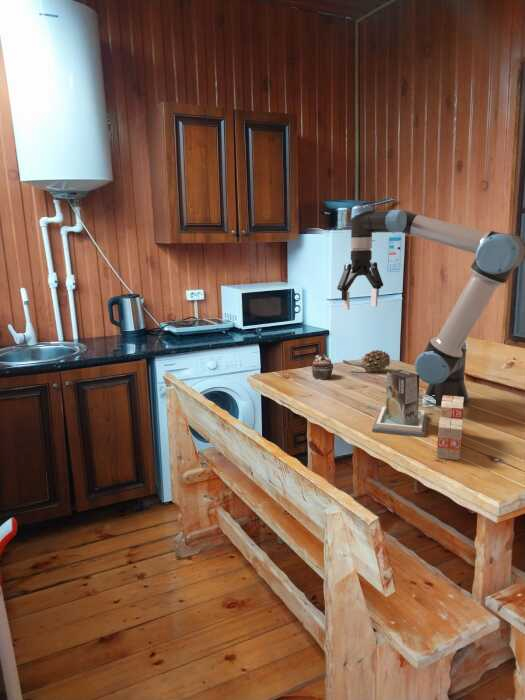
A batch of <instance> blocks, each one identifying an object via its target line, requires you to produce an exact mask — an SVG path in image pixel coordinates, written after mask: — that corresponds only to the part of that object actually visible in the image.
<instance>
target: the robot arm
mask: <svg viewBox="0 0 525 700" xmlns="http://www.w3.org/2000/svg"><path fill="white" fill-rule="evenodd" d="M350 216H351V217H350V230H351V231H350V235H351V236H350V249H351V250H350V260H351V263H345V264H344V265H343V272H342V275H341V277H340V279H339V281H338V285H337V287H336V290H337V291H340V292H341V300H342V310H350V291H349V290H350V288H351V286H352V285H353V283H354V282H355V280H356V279H357V278H358V277H360V276H365V278H366V279H367V281H368V282H369V283H370V285H371V286H372V288H371V289H370V306H371V307H378V298H379V294H380V289H381V288H382V287H383V286H384V283H383V280H382V277H381V274H380V271H379V267H378V262H377V261H373V262H372V257H373V255H372V254H373V253H372V250H371V249H372V248H373V233H374V234H376V233H393V234H394V233H402V234H406V235H409V236H414V237H417V238H421V239H424V240H427V241H430V242H434V243H437V244H441V245H444V246H448V247H450V248H454V249H458V250H462V251H465V252H468V253H471V254H474V255H475V259H474V260H473V262H472V264H471V266H470V271H471V276H470V278H469V279H468V281H467V283H466V285H465V286H464V288H463V290H462V292H461V294H460V296H459V298H458V299H457V301H456V303H455V304H454V306H453V308H452V310H451V311H450V314H449V315H448V317H447V319H446V321H445V322H444V324H443V326H442V328H441V330H440V331H439V333H438V335H437V336H436V337H432V338H430V340H429V341H428V344H427V345H426V347H425V349H424V350H423V352H421V353H420V354H419V355H418V356H417V357H416V359H415V362H414V370H415V374H417V375H420V376H419V380H421V381H422V382H424V383H426V384H428V386H427V388H426V391H425V395H426V394H427V395H429V396H432V395H435V396H432V397H433V398H434V399H435V400H436V404H435V405H438V406H441V402H442V397H443V395H445V396H458V397H464V405H466V404H468V403H469V394H468V390H467V387H466V383H465V376H466V375H465V373H466V362H467V361H466V359H467V350H468V349H467V343H466V341H467V339H468V337H469V336H470V335H471V332H472V331H473V329H474V328H475V326H476V324H477V322H478V320H479V319H480V317H481V315H482V314H483V312H484V310H485V309H486V307H487V305H488V303H489V301H490V300H491V299H492V296H494V293H495V291H496V290H497V288H498V287H500V286H502V285H505V284H506V283H507V281H508V279H510V276H511V275H512V273H513V271H514V270H515V269H516V268H518V267H519V266H520V265H522V263H524V261H525V241H524V239H523V238H522V237H521V236H519V235H517V234H515V233H504V232H497V231H494V230H490V231H489V232H484V231H482V230H481V231H480V230H477V229H473V228H469V227H466V226H461V225H459V224H455V223H451V222H447V221H443V220H440V219H436V218H432V217H429V216H428V217H427V216H424V215H420V214H416V213H413V212H412V211H408V210H402V209H387V210H385V209H384V210H374V207H373V206H372V205H355V206H352V208H351V215H350ZM464 405H463V406H464Z"/></svg>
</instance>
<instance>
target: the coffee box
mask: <svg viewBox="0 0 525 700" xmlns="http://www.w3.org/2000/svg"><path fill="white" fill-rule="evenodd" d="M419 376H420V375H417V373H413V372H410V371H406V370H403V369H396V370H391V371H386V399H385V400H386V402H385V403H386V404H385V407H386V418H387V419H389V420H392V421H394V422H397V423H399V424H402V425H410V424H414V423H417V422H418V410H419V405H420V404H419V401H420V399H419V397H420V396H419V395H420V378H419Z"/></svg>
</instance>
